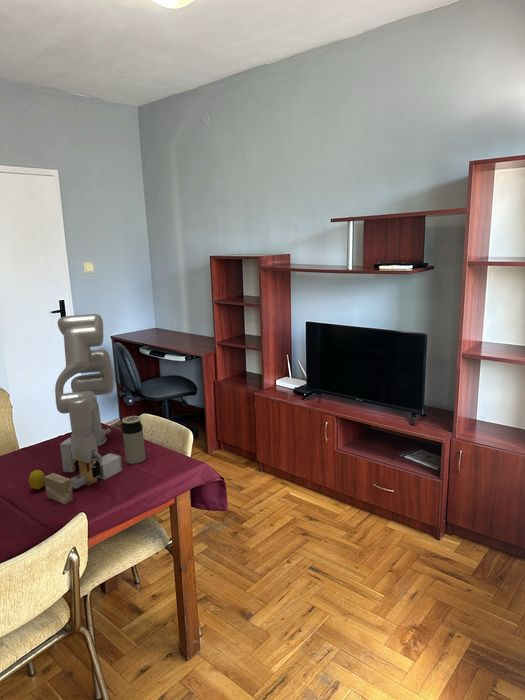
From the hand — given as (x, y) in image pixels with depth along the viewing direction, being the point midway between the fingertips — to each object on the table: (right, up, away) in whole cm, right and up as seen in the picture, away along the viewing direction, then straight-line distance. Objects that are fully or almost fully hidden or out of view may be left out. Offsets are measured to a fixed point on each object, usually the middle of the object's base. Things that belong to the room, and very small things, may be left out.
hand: (88, 473), depth 186 cm
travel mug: (+13, +1, +19) cm, 23 cm away
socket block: (-7, -7, -9) cm, 13 cm away
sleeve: (+5, -2, +9) cm, 10 cm away
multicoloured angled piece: (+1, -3, +3) cm, 5 cm away
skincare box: (-11, -2, +13) cm, 17 cm away
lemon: (-18, -6, -2) cm, 19 cm away
